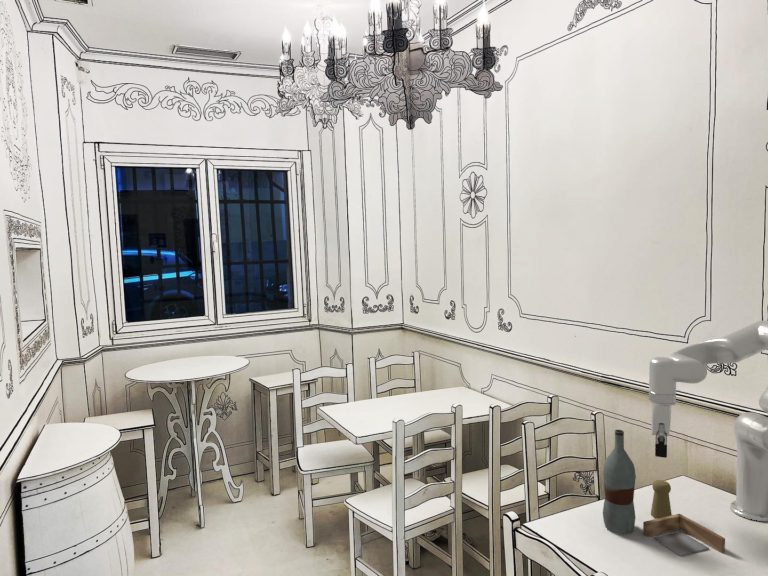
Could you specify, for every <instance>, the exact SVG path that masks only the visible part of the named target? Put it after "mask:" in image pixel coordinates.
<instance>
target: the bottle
mask: <svg viewBox="0 0 768 576" xmlns="http://www.w3.org/2000/svg"><path fill="white" fill-rule="evenodd" d="M602 476H603V477H602V478H603V487H604V489H603V490H604V501H603V508H602V519H603V523H604V527H605V529H606V528H607V529H606V530H607V531H609V532H611V533H613V534H618V535H629V534H630V535H631V533H633V531H634V528H635V524H636V511H635V503H634V497H635V486H636V479H637V476H636V467H635V464H634V462H633V461H632V459H631V457H630V456H629V454H628V453H627V452H626V450H625V431H624V430H622V429H615V430H614V448H613V450H611V452H610V453H609V455H608V456H607V457H606V459H605V461H604V464H603V468H602Z"/></svg>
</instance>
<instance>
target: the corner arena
mask: <svg viewBox="0 0 768 576" xmlns="http://www.w3.org/2000/svg"><path fill="white" fill-rule="evenodd" d="M642 524H643V525H642V527H643V528H642V529H643V531H642V534H643V535H642V536H644V537H645V538H648V537H652V536H653V537H652V539H653V540H654V541H656V542H657V541H658V543H659V544H661V545H663V546H664V547H665V548H667V549H669V550H670V551H672V552H674V553H675V554H676V555H678V556H680V557H684V556H688V555H692V554H696V553H700V552H704V551H708V550H710V548H712V549H714V550H715V551H717V552H719V553H721V554H723V553H725V552H726V538H725V537H723V536H722V535H720V534H718V533H717V532H714V531H713V530H710V529H709V528H707V527H705V526H704V525H701V524H699V523H698V522H696V521H694V520H692V519H690V518H688V517H686V516H685V515H683V514H681V513H676V514H672V515H671V516H667V517H663V518H658V519H656V518H654V519H649V520H645V521H643V522H642ZM677 530H678V531H677ZM680 530H681V531H680ZM672 531H674V532H672ZM668 532H671V533H668ZM664 533H666V534H664ZM660 534H661V535H660ZM692 537H693V538H692ZM694 538H695V539H694ZM699 541H700V542H699ZM701 541H702V543H701ZM703 542H704V544H703ZM708 545H709V546H708ZM709 547H710V548H709Z"/></svg>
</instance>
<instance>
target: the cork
mask: <svg viewBox="0 0 768 576" xmlns="http://www.w3.org/2000/svg"><path fill="white" fill-rule="evenodd" d="M652 490H653V497H652V503H651V509H650V516H651V517H652V518H654V519H658V518H663V517H667V516H671V515H673V514H672V509H671V501H670V493H671V490H672V487H671V484H670V483H669V482H668V481H666V480H663V479H662V480H661V479H657V480H654V481H653V482H652Z"/></svg>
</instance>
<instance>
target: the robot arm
mask: <svg viewBox="0 0 768 576" xmlns="http://www.w3.org/2000/svg"><path fill="white" fill-rule="evenodd" d="M767 350H768V320H757V321H756V322H753V323H751V324H749V325H747V326H745V327H742V328H740V329H737V330H736V331H733V332H732V333H729V334H727V335H725V336H722V337H719V338H713V339H710V340H706V341H702V342H697V343H694V344H691V345H688V346H685V347H682V348H681V349H679V350H675V352H673V353H671V354H670V355H668V357H664V356H663V357H662V356H656V357H653V358H651V359H650V360H649V368H648V369H649V372H648V374H649V376H648V378H649V379H648V402H649V403H650V404H651V426H650V427H651V428H650V430H651V435H652V436H655V446H654V456H655V457H658V458H665V459H666V458H668V444H667V442H668V437H669V436H670V430H671V422H672V421H671V419H672V406H674V405H676V403H677V402H676V401H677V399H676V398H677V383H683V384H699V383H700V382H703V381H704V380H705V379H706V378H707V375H708V369H707V366H706V365H711V364H736V363H739V362H742V361H744V360H745V359H749V358H750V357H753V356H754V355H757V354H760V353H761V352H764V351H767ZM758 405H759V407H760V409H761V410H762V411H764V412H765V413H766V414H768V386H767V387H766V388H765V390H764V391H763V392H762V393H761V395H760V396H759V399H758ZM733 426H734V427H733V428H734V429H733V430H734V436H735V440H736V441H735V442H736V490H735V497H736V498H735V500H733V501H731V503H730V506H729V507H730V510H731V511H732V512H733V513H734V514H736V515H738V516H740V517H742V518H744V517H745V519H749V520H751V519H752V520H753V521H756V520H757V521H758V522H768V417H767V416H765V415H763V414H760V413H757V412H751V411H749V412H747V411H746V412H743V413H741V414H739V416H738V417H737V418H736V419H735V421H734V425H733Z"/></svg>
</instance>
